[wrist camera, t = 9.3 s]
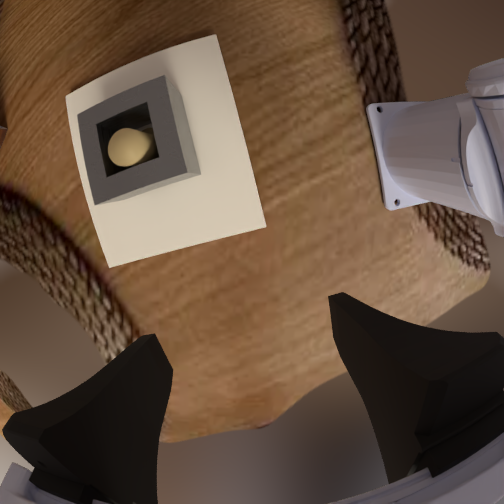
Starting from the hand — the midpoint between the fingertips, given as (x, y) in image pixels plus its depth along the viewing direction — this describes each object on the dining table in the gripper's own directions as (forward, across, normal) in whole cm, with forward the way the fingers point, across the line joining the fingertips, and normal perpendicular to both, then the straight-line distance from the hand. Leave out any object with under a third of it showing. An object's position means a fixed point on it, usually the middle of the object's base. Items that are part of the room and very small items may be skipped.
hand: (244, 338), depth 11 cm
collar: (+9, +4, -9) cm, 13 cm away
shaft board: (+10, +4, -9) cm, 14 cm away
